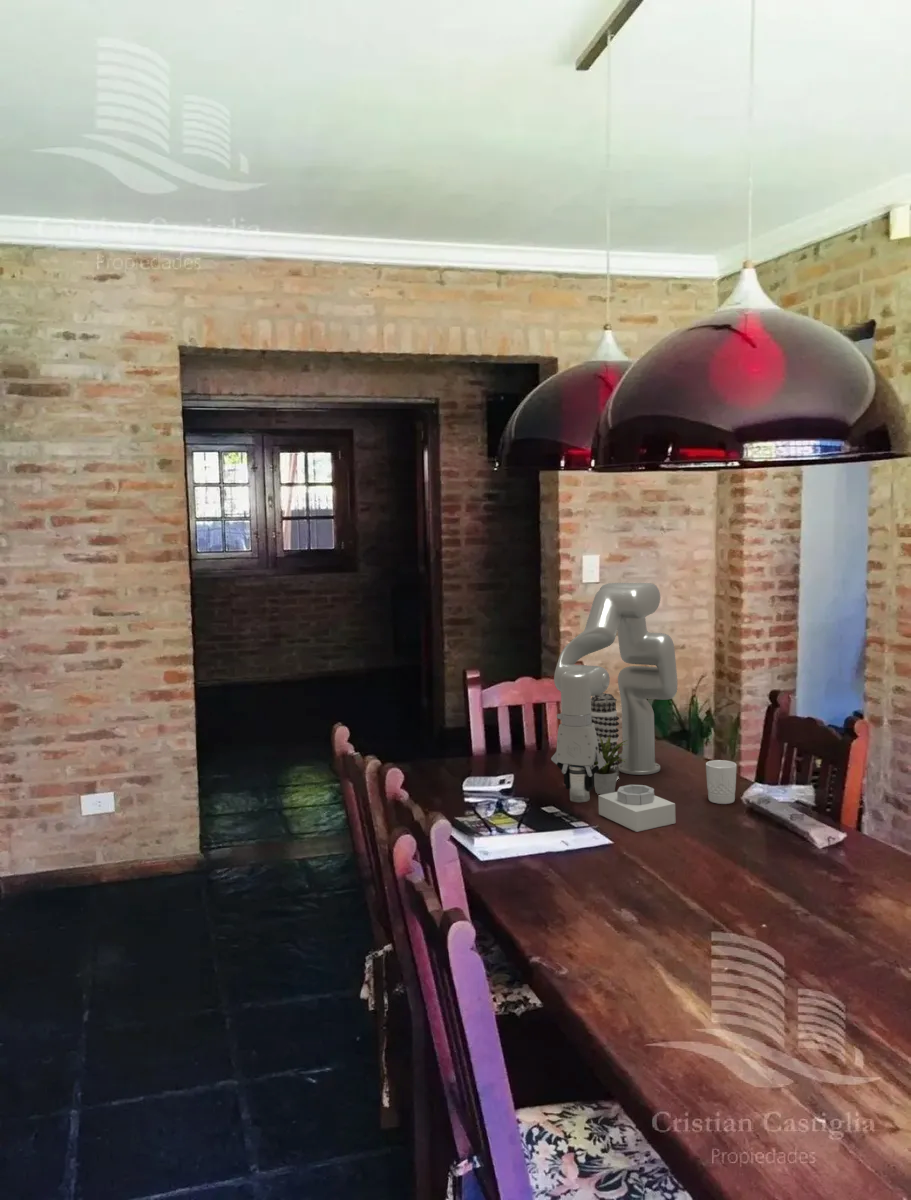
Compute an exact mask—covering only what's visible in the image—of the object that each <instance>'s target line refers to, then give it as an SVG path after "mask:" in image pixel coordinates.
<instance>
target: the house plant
mask: <svg viewBox="0 0 911 1200" xmlns="http://www.w3.org/2000/svg"><path fill="white" fill-rule="evenodd" d="M599 737H600V736H599ZM600 740H601V746H602V754H603V758H604V760H605V761H606V765H604V766H603V767H602V768H600V769H599V770H598V771H597V772H596V773H595V774H594V790H595V794H596V793H597V794H596V795H598V794H600V795H603V794H608V793H613V792H616V785H617V781H616V779H617V770H616V769H613V768H610V767H611V765H612V764H613V763H614V762H615V761H619V762H618V764H620V762H622V761H624V760H626V759H623V760H622V758H620V757H618V756H619V755H620V754H622V752H621V753H620V754H619V753H618V755H614V754H615V753H616V751H618V752H619V751H620V748H623V745H629V744H623V743H624V742H626V741H628V740H626V741H623V740H622V741H620V742H619V743H617V746H616V747H615V748H613V749H611V750H609V749H610V746H611V743H610V740H611V737H610V736H609V737H608V740H607V742H606V744H605V747H604V744H603V741H602V739H601V737H600ZM598 750H599V748H598ZM612 750H613V751H612ZM611 751H612V752H611ZM609 752H611V754H610V755H609V756H608V753H609ZM599 753H600V752H599ZM612 754H613V755H612ZM600 755H601V754H600ZM613 756H615V757H613ZM610 758H611V759H610ZM609 760H610V761H609ZM608 762H609V763H608ZM624 762H625V761H624ZM594 764H595V765H597V764H598V761H596V762H595V763H594Z"/></svg>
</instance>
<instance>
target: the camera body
mask: <svg viewBox="0 0 911 1200" xmlns="http://www.w3.org/2000/svg"><path fill="white" fill-rule="evenodd" d="M597 795H598V794H597ZM597 797H598V815H599V816H602V817H603V818H606V819H608V820H610V821H613V822H615V823H617V824H619V825H621V826H623V827H625V828H627V829H629V830H631V831H633V832H642V831H647V830H651V829H655V828H656V829H657V828H660V827H665V826H669V825H672V824H676V820H677V819H676V803H675V802H672V801H670V800H667V799H665V798H663V797H660V796H657V795H655V788H653V787H650V786H648V785H645V784H644V785H643V784H626V785H622V786H619V787H618V789H617V791H615V792H613V793H608V794H603V795H598V796H597Z"/></svg>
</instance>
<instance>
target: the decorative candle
mask: <svg viewBox="0 0 911 1200" xmlns="http://www.w3.org/2000/svg"><path fill="white" fill-rule="evenodd" d="M617 700H618V699H617V698H615V697H614V696H613V695H612V694H611V693H608V692H607V693H605V692H603V693H602V694H600V695H594V696H591V714H592V724H594V726H595V730H596V735H597V741H598V748H599V752H600V754H601V756H602V757H603V754H602V746H601V740H600V737H601V739H602V741H603V744H604V747H605V744H606V742H607V740H608V737H609V736H610V737H611V740H610V743H611V746H610V749H609V750H611V749H613V748H615V747H616V746H617V745H618V741H619V738H618V737H619V734H618V733H619V732H620V730H619V728H617V726H619V725H620V723H619V722H618V720H619V719H620V718H619V717H618V716H617V715H618V714H617V705H616V704H617V703H616V702H617ZM599 736H600V737H599ZM612 751H613V750H612ZM612 751H611V752H612ZM611 752H609V753H608V756H609V755H610V754H611ZM618 752H619V751H616V753H615V754H614V755H618V754H619V753H618ZM612 755H613V754H612ZM613 757H615V756H613ZM618 757H619V756H618ZM610 759H611V758H610ZM609 761H610V760H609ZM618 762H619V763H620V761H615V762H614V763H613V764H612V765H611V767H610V768H613V769H616V770H617V779H616V782H618V781H619V780H620V777H619V776H620V771H619V766H618V765H619V763H618ZM608 763H609V762H608ZM595 766H596V765H595V764H594V767H595ZM618 779H619V780H618ZM617 780H618V781H617Z"/></svg>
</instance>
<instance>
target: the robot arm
mask: <svg viewBox="0 0 911 1200" xmlns="http://www.w3.org/2000/svg"><path fill="white" fill-rule="evenodd" d="M660 601H661V592H660V589H659V588H658V586H657V585H656V584H654V583H651V582H610V583H609V582H608V583H605V584H602V586H601V587H600V588H599V590H598V591H597V592H596V594H595V595H594V597H593V601H592V603H591V607H590V611H589V615H588V617H587V620H586V624H585V628H584V630H583V631H582V632H581V633H579V634H578V635H577V636H575V637H573V639H572V640H570V641H569V642H568V643H567V644H566V645H565V646H564V648H563V649H562V650H561V652H560V653H559V657H558V660H557V663H556V667H555V670H554V674H553V675H554V676H553V682H554V685H555V688H556V689H557V691H559V692H560V695H561V696H560V701H561V702H560V703H561V713H557V714H556V718H557V719H558V720H560V721H561V723H560V724H559V725H558V729H557V736H556V737H557V738H556V751H555V753H554V754H553V755H552V756H551V758H550V760H551V761H552V762H553V763H554V764H555V765H556V767H557V768H558V769H560V771H561V773H562V774H563V782H564V783H563V784H564V786H565V790H570V785H569V765H579V766H585V767H586V771H587V776H586V791H587V792H589V793H590V792H591V791H592V790H593V789H594V788H595V786H594V774H595V773H596V772H597V771H598V770H599V769H600V768H602V767H603V766H604V765H606V761H605V760H604V758H603V757H602V756H601V755H600V753H599V750H598V741H597V735H596V730H595V726H594V724H592V714H591V698H592V696H594V695H600V694H602V693H605V692H606V691H607V690H608V687H609V685H610V679H611V678H610V673H609V672H608V670H607V669H606V668H604V667H603V666H598V665H584V664H576V663H577V662H578V661H579V660H581V659H582V658H583V657H585V656H588V655H590V654H592V653H595V652H598V651H601V650H603V649H605V648H608V647H610V646H612V645H613V644H614V643H615V640H616V638H617V639H618V648H619V654H620V655H619V656H620V658H621V660H622V662H624V663H627V664H628V665H629V664H631V665H629V666H626V667H624V668H622V669H621V670H620V671H619V673H618V674H617V685H618V691H619V695H620V696H619V697H620V702H621V703H620V704H621V729H622V730H621V731H622V734H621V735H622V742H623V741H626V740H628V741H626V742H624V743H622V744H629V745H622V750H621V753H622V754H620V753H618V754H620V755H619V757H620V758H619V759H621V760H623V759H626V760H624V761H625V762H624V761H621V762H619V763H618V764H617V765H618V766H619V770H618V771H619V772H621V773H623V774H629V775H637V776H641V775H642V776H643V775H645V776H646V775H647V776H648V775H653V774H657V773H658V772H660V771H661V765H660V764H659V763H657V762H656V755H655V754H656V752H655V751H656V749H655V748H656V744H655V743H656V742H655V741H656V740H655V713H654V710H653V707H652V705H651V704H650V703H649V701H648V700H647V699H649V700H666V701H667V700H672V699H673V698H674V697H676V695H677V693H678V671H677V660H676V650H675V644H674V641H673V639H672V638H671V636H669V634H666V633H663V632H649V631H648V629H647V620H646V619H647V618H646V617H648V616H650V615H652V614H653V613H655V612H656V611H657V610H658V609H659V607H660V603H661V602H660ZM616 636H617V637H616ZM646 665H647V666H646ZM596 761H598V764H597V765H596V766H595V767H594V763H595V762H596Z"/></svg>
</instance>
